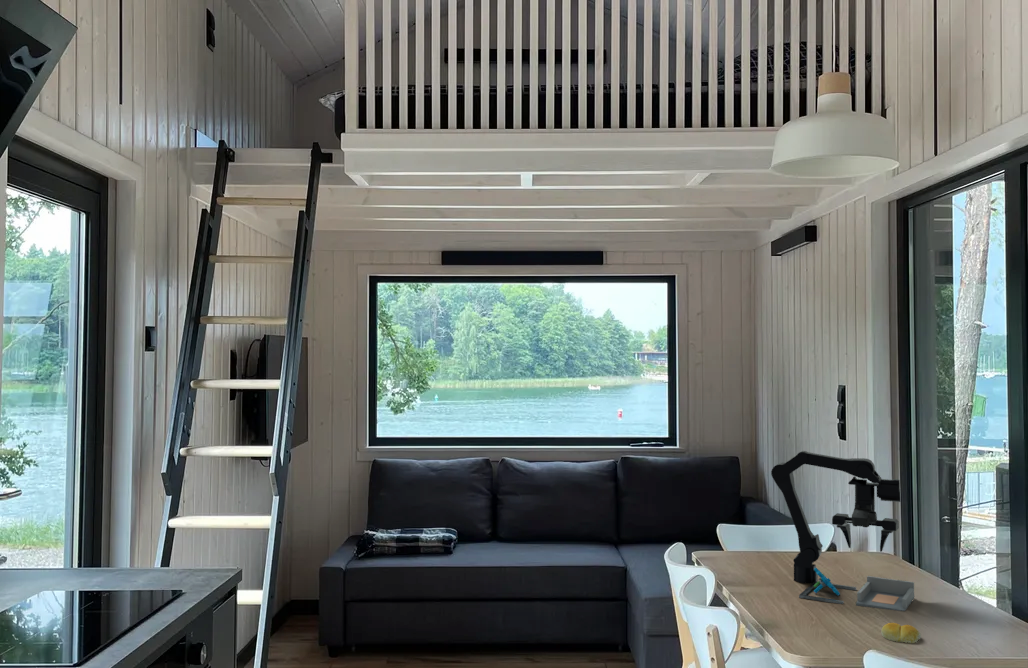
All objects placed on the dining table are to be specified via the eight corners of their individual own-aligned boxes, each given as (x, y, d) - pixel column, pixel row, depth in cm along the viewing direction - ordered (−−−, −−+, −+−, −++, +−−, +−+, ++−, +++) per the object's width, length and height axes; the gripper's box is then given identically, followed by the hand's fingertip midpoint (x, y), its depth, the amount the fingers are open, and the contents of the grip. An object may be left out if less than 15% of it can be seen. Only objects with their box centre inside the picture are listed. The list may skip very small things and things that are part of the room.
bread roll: (884, 632, 218) (884, 616, 218) (922, 640, 213) (922, 624, 213) (877, 640, 211) (878, 624, 211) (916, 648, 206) (917, 632, 206)
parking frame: (799, 597, 251) (799, 595, 251) (814, 583, 267) (814, 581, 267) (842, 604, 244) (842, 601, 244) (856, 589, 260) (856, 587, 260)
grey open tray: (855, 606, 243) (855, 588, 243) (868, 591, 258) (868, 575, 258) (904, 613, 235) (904, 595, 236) (914, 598, 250) (914, 581, 251)
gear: (844, 596, 249) (820, 570, 251) (829, 609, 250) (805, 583, 251) (838, 586, 260) (814, 561, 261) (823, 599, 261) (800, 574, 262)
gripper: (827, 500, 261) (828, 550, 261) (892, 506, 251) (893, 558, 250) (835, 495, 270) (836, 544, 270) (898, 500, 260) (899, 551, 260)
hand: (865, 549), depth 262 cm, fingers open, 9 cm apart
